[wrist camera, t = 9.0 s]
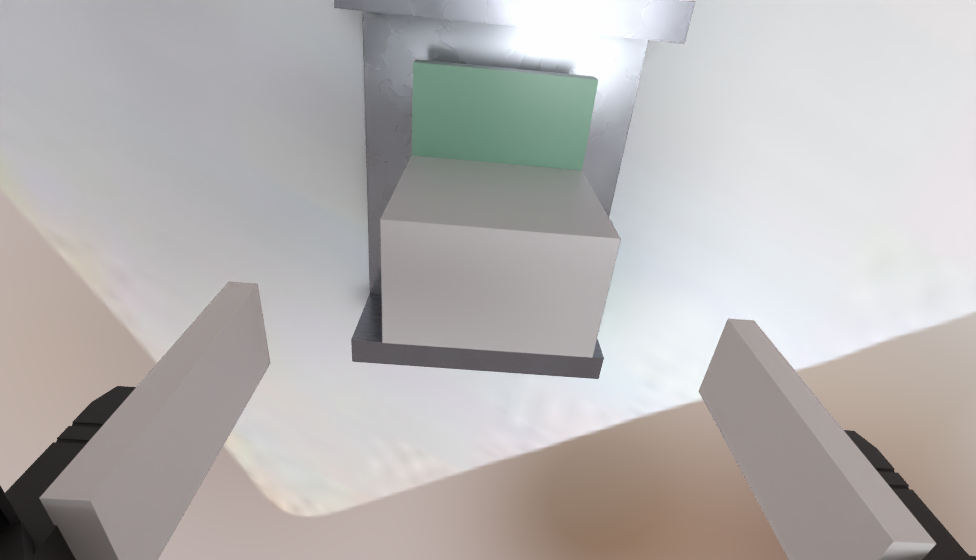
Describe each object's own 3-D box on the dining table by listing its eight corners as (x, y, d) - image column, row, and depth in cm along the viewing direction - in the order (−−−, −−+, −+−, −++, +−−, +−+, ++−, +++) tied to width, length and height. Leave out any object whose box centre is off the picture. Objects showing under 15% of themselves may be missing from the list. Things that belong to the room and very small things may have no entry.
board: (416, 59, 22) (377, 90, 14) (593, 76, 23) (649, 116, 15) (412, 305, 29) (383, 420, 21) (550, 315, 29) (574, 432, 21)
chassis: (365, -42, 24) (331, -54, 19) (653, -10, 24) (699, -14, 19) (373, 311, 33) (352, 368, 28) (579, 326, 34) (596, 385, 29)
